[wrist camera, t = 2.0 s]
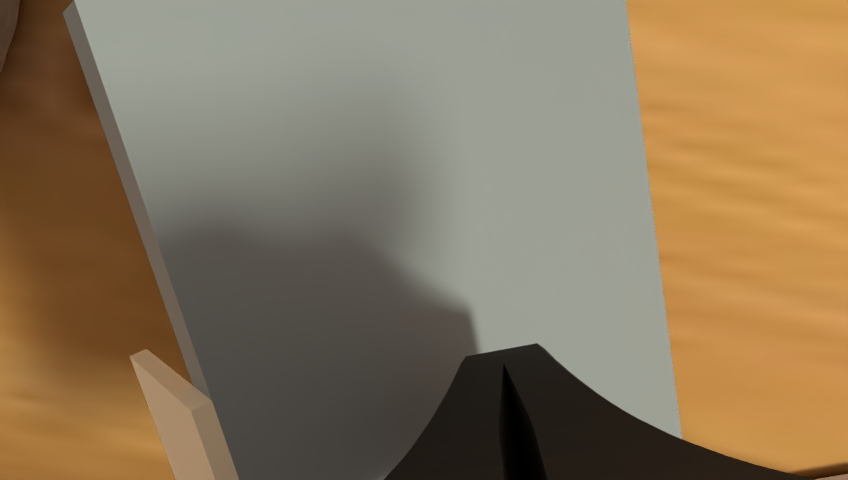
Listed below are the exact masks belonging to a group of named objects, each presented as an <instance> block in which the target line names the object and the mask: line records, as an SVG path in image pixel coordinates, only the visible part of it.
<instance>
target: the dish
mask: <svg viewBox="0 0 848 480" xmlns="http://www.w3.org/2000/svg"><path fill="white" fill-rule="evenodd" d="M19 5H20V0H0V74H1V71H2V69H3V66H4V62H5V59H6V54H7V51H8V49H9V46H10V43H11V41H12V38H13V35H14V33H15V28H16V23H17V19H18V12H19Z"/></svg>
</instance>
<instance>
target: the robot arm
mask: <svg viewBox="0 0 848 480" xmlns="http://www.w3.org/2000/svg"><path fill="white" fill-rule="evenodd" d="M384 480H848V474H844V475H838V476H832V477H825V478H819V479H810V478H805V477H801V476H797V475H793V474H789V473H785V472H781V471H777V470H773V469H769V468H766V467H762V466H758V465H754V464H751V463H748V462H744V461H741V460H738V459H735V458H731V457H728V456H725V455H722V454H720V453H717V452H714V451H712V450H709V449H706V448H703V447H701V446H698V445H695V444H692V443H690V442H687V441H685V440H683V439H680V438H678V437H675V436H673V435H671V434H669V433H666V432H664V431H662V430H660V429H658V428H656V427H654V426H652V425H650V424H648V423H646V422H644V421H642V420H640V419H638V418H636V417H634V416H633V415H631V414H629V413H627V412H625V411H624V410H622V409H620V408H619V407H617V406H616V405H614V404H613V403H611V402H609V401H608V400H606V399H605V398H604V397H602V396H601V395H599V394H598V393H596V392H595V391H594V390H593V389H591V388H590V387H589V386H587V385H586V384H585V383H583V382H582V381H581V380H579V379H578V378H577V377H576V376H574V375H573V374H572V373H571V372H569V371H568V370H567V369H566V368H565V367H564V366H563V365H561V364H560V363H559V362H558V361H557V360H556V359H555V358H554V357H553V356H552V355H551V354H550V353H549V352H548V351H547V350H546V349H545V348H543V347H542V346H540V345H539V344H538V343H535V344H530V345H524V346H519V347H514V348H508V349H503V350H497V351H492V352H487V353H481V354H476V355H470V356H466V357H465V358H464V360H463V361H462V362H461V364H460V366H459V368H458V371H457V373H456V375H455V377H454V379H453V381H452V383H451V385H450V387H449V389H448V391H447V393H446V395H445V396H444V398H443V400H442V401H441V403H440V405H439V407H438V408H437V410H436V412H435V413H434V415H433V417H432V418H431V420H430V421H429V423H428V424H427V426H426V427H425V429H424V430H423V432H422V433H421V434H420V436H419V437H418V439H417V440H416V442H415V443H414V444H413V446H412V447H411V449H410V450H409V451H408V453H407V454H406V455H405V456H404V458H403V459H402V460H401V461H400V462H399V463H398V464H397V465H396V467H395V468H394V469H393V470H392V471H391V472H390V473H389V474H388V475H387V476H386V478H385V479H384Z"/></svg>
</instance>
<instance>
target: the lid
mask: <svg viewBox="0 0 848 480" xmlns="http://www.w3.org/2000/svg"><path fill="white" fill-rule="evenodd" d="M63 16H64V19H65V22H66V25H67V28H68V30H69V33H70V36H71V39H72V42H73V45H74V47H75V50H76V53H77V56H78V59H79V62H80V65H81V67H82V70H83V73H84V76H85V79H86V82H87V85H88V87H89V90H90V93H91V96H92V99H93V102H94V105H95V107H96V110H97V113H98V116H99V119H100V122H101V125H102V127H103V130H104V133H105V136H106V139H107V142H108V145H109V147H110V150H111V153H112V156H113V159H114V162H115V165H116V167H117V170H118V173H119V176H120V179H121V182H122V185H123V187H124V190H125V193H126V196H127V199H128V202H129V205H130V207H131V210H132V213H133V216H134V219H135V222H136V225H137V227H138V230H139V233H140V236H141V239H142V242H143V245H144V247H145V250H146V253H147V256H148V259H149V262H150V265H151V267H152V270H153V273H154V276H155V279H156V282H157V285H158V287H159V290H160V293H161V296H162V299H163V302H164V305H165V307H166V310H167V313H168V316H169V319H170V322H171V325H172V327H173V330H174V333H175V336H176V339H177V342H178V345H179V347H180V350H181V353H182V356H183V359H184V362H185V365H186V367H187V370H188V373H189V376H190V379H191V382H192V384H190V383H189V382H188V381H186V380H185V379H184V378H183V377H181V376H180V375H179V374H178V373H176V372H175V371H174V370H173V369H171V368H170V367H169V366H168V365H166V364H165V363H164V362H163V361H161V360H160V359H159V358H158V357H156V356H155V355H154V354H153V353H151V352H150V351H149V350H148V349H145V350H142V351H140V352H138V353H135V354H133V355H131V356H130V359H131V362H132V364H133V367H134V370H135V372H136V375H137V378H138V380H139V383H140V386H141V388H142V391H143V394H144V396H145V399H146V402H147V404H148V407H149V410H150V412H151V415H152V418H153V420H154V423H155V426H156V429H157V431H158V434H159V437H160V439H161V442H162V445H163V447H164V450H165V453H166V455H167V458H168V461H169V463H170V466H171V469H172V471H173V474H174V477H175V479H176V480H384V479H385V478H386V476H387V475H388V474H389V473H390V472H391V471H392V470H393V469H394V468H395V467H396V465H397V464H398V463H399V462H400V461H401V460H402V459H403V458H404V456H405V455H406V454H407V453H408V451H409V450H410V449H411V447H412V446H413V444H414V443H415V442H416V440H417V439H418V437H419V436H420V434H421V433H422V432H423V430H424V429H425V427H426V426H427V424H428V423H429V421H430V420H431V418H432V417H433V415H434V413H435V412H436V410H437V408H438V407H439V405H440V403H441V401H442V400H443V398H444V396H445V395H446V393H447V391H448V389H449V387H450V385H451V383H452V381H453V379H454V377H455V375H456V373H457V371H458V368H459V366H460V364H461V362H462V361H463V360H464V358H465V357H466V356H470V355H476V354H481V353H487V352H492V351H497V350H503V349H508V348H514V347H519V346H524V345H530V344H535V343H538V344H539V345H540V346H542V347H543V348H545V349H546V350H547V351H548V352H549V353H550V354H551V355H552V356H553V357H554V358H555V359H556V360H557V361H558V362H559V363H560V364H561V365H563V366H564V367H565V368H566V369H567V370H568V371H569V372H571V373H572V374H573V375H574V376H576V377H577V378H578V379H579V380H581V381H582V382H583V383H585V384H586V385H587V386H589V387H590V388H591V389H593V390H594V391H595V392H596V393H598V394H599V395H601V396H602V397H604V398H605V399H606V400H608V401H609V402H611V403H613V404H614V405H616V406H617V407H619V408H620V409H622V410H624V411H625V412H627V413H629V414H631V415H633V416H634V417H636V418H638V419H640V420H642V421H644V422H646V423H648V424H650V425H652V426H654V427H656V428H658V429H660V430H662V431H664V432H666V433H669V434H671V435H673V436H675V437H678V438H680V439H682V433H681V425H680V418H679V410H678V402H677V394H676V387H675V379H674V371H673V363H672V355H671V348H670V340H669V332H668V324H667V317H666V309H665V301H664V293H663V286H662V278H661V270H660V262H659V255H658V247H657V239H656V231H655V223H654V216H653V208H652V200H651V192H650V185H649V177H648V169H647V161H646V154H645V146H644V138H643V130H642V123H641V115H640V107H639V99H638V91H637V84H636V76H635V68H634V60H633V53H632V45H631V37H630V29H629V22H628V14H627V6H626V0H73V2H72V3H71V4H70V5H69V6H68V7H67V8H66V9H65V10H64V12H63Z"/></svg>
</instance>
